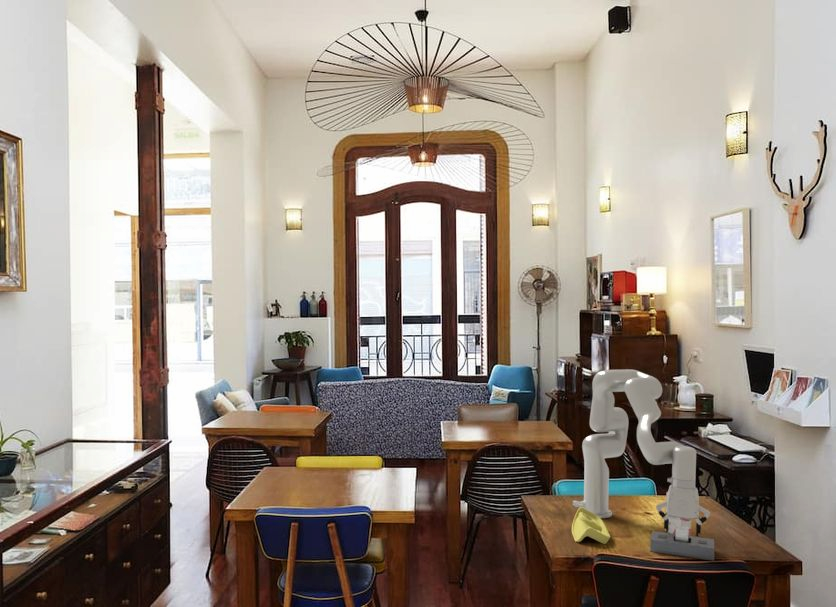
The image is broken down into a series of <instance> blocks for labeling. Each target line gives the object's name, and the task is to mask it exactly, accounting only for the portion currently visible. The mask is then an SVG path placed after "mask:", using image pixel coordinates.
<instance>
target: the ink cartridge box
mask: <svg viewBox="0 0 836 607" xmlns="http://www.w3.org/2000/svg"><path fill="white" fill-rule="evenodd" d="M665 493H666V494H665V495H666V496H665V502H666V501H667V498H668V491H666V492H665ZM664 509H665V510H664V513H665V514H666V513H667V506H665V507H664ZM668 519H669V527H668V532H667V533H671V534H676V525H678V526H685V527H689V536H692V519H686V518H678V517H672V516H670V517H669V518H668ZM664 531H665V532H666V529H664Z"/></svg>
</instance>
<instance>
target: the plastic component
mask: <svg viewBox="0 0 836 607" xmlns="http://www.w3.org/2000/svg"><path fill="white" fill-rule="evenodd" d="M571 534H572V537H573V539H574V542H576V543H580V542H582V541H583V540H584V539H585V538H586V537H589V538H590V539H593V540H594V541H597V542H599V543H601V544H604V545H606V544H607V543H608V542H609V540H610V538H611V534H610V532H609V531H608V528H607V527H606V524H605V523H604V521H603V519H602V518H599V517H598V516H597V515H595V514H594V513H592V512H590V511H588V510H586V509H584V508H582V507H578V509H577V511H576V513H575V515H574V518H573V521H572V524H571Z"/></svg>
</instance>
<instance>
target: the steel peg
mask: <svg viewBox="0 0 836 607" xmlns="http://www.w3.org/2000/svg"><path fill="white" fill-rule="evenodd" d="M675 541H678V542H685V543H689V527H685V526H678V525H676V538H675Z"/></svg>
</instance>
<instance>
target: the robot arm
mask: <svg viewBox="0 0 836 607" xmlns="http://www.w3.org/2000/svg"><path fill="white" fill-rule="evenodd" d="M591 389H592V400H591V407H590V414H589V428H590V429H591V430H592V431H594V432H596V433H595V434H590V435H588V436H586V437H585V438H584V439H583V441H582V443H581V444H582V445H581V448H582V454H583V455H582V456H583V460H584V461H583V463H584V464H583V465H584V466H583V467H584V471H583V475H584V479H583V500H581V501H578V500H572V506H574V507H575V508H580V507H582V508H584V509H586V510H588V511H590V512H592V513H594V514H595V515H597V516H598V517H599V518H600V519H609V518H611V517H612V516H613V512H612V510H610V509H609V492H610V491H609V488H610V487H609V486H610V483H609V482H610V480H609V478H610V469H609V467H608V464H607V462H606V460H605V459H610V458H611V459H612V458H618V457H620V456H622V455H623V454H624V452H625V450H626V445H627V438H628V433H629V432H628V430H629V417H628V416H629V415H628V414H627V412H626V411H625V410H624V409H623V408H621V407H619V406H618V407H616V406H615V400H616V399H615V395H614V394H613V393H617V392H618V393H620V392H622V393H623V392H624V393H625V395H626V398H627V399H628V401H629V403H630V406H631V408H632V410H633V412H634V414H635V416H636V418H637V420H638V424H637V427H636V442H637V445H638V446H639V449H640V451H641V453H642V455H643V457H644V458H645V460H646V461H647V462H648V463H649V464H651V465H653V466H654V465H655V466H660V465H665V464H667V465H668V464H669V465H670V464H672V465H671V466H672V467H671V477H667V483H670V485H669V487H668V491H667V492H668V498H667V501H666V500H665V501H664V502H660V503H658V504H656V505H655V508H656V510H657V512H658V515H659V516H660V517H661V518H662V519H663V529H664V530H665V529H666V531H665V533H669V532H668V527H669V519H668V518H669V517H670V516H672V517H678V518H686V519H691V520H694V521H695V522H696V526H695V527H696V528H695V537H699V534H701V532H702V531H701V530H702V527H701V526H702V525H703V524H704V523H705V522H706V521H707V520H708V518H709V517H710V515H711V511H710V510H708V509H705V508H704V507H702V506H701V505H700V503H699V502H700V499H699V498H700V497H699V490H698V488H697V487H696V474H697V473H696V471H697V470H696V469H697V450H696V449H695V448H694V447H691V446H685V445H683V444H681V443H679V442H677V441H673V440H671V441H660V442H656V441H655V439H654V437H653V434H652V431H651V427H652V426H651V425H652V424H653V423H655V422H656V421H658V420H659V418H661V415H662V411H661V410H660V409H661V408H660V407H659V405H658V404H657V402H656V400H657V399H659V398H660V397H661V396H662V395H663V394H662V393H663V386H662V383H661V382H660V381H659V379H658V378H656V377H654V376H652V375H649V374H647V373H644V372H642V371H639V370H636V369H631V368H630V369H628V368H626V369H606V370H605V369H604V370H600V371H598V372H597V373H595V375H594V376H593V379H592V388H591ZM665 506H667V513H666V514H665V511H663V510H662V508H665ZM700 512H701V513H703V514H704V515H703V516H702V517H700V516H699V515H700Z"/></svg>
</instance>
